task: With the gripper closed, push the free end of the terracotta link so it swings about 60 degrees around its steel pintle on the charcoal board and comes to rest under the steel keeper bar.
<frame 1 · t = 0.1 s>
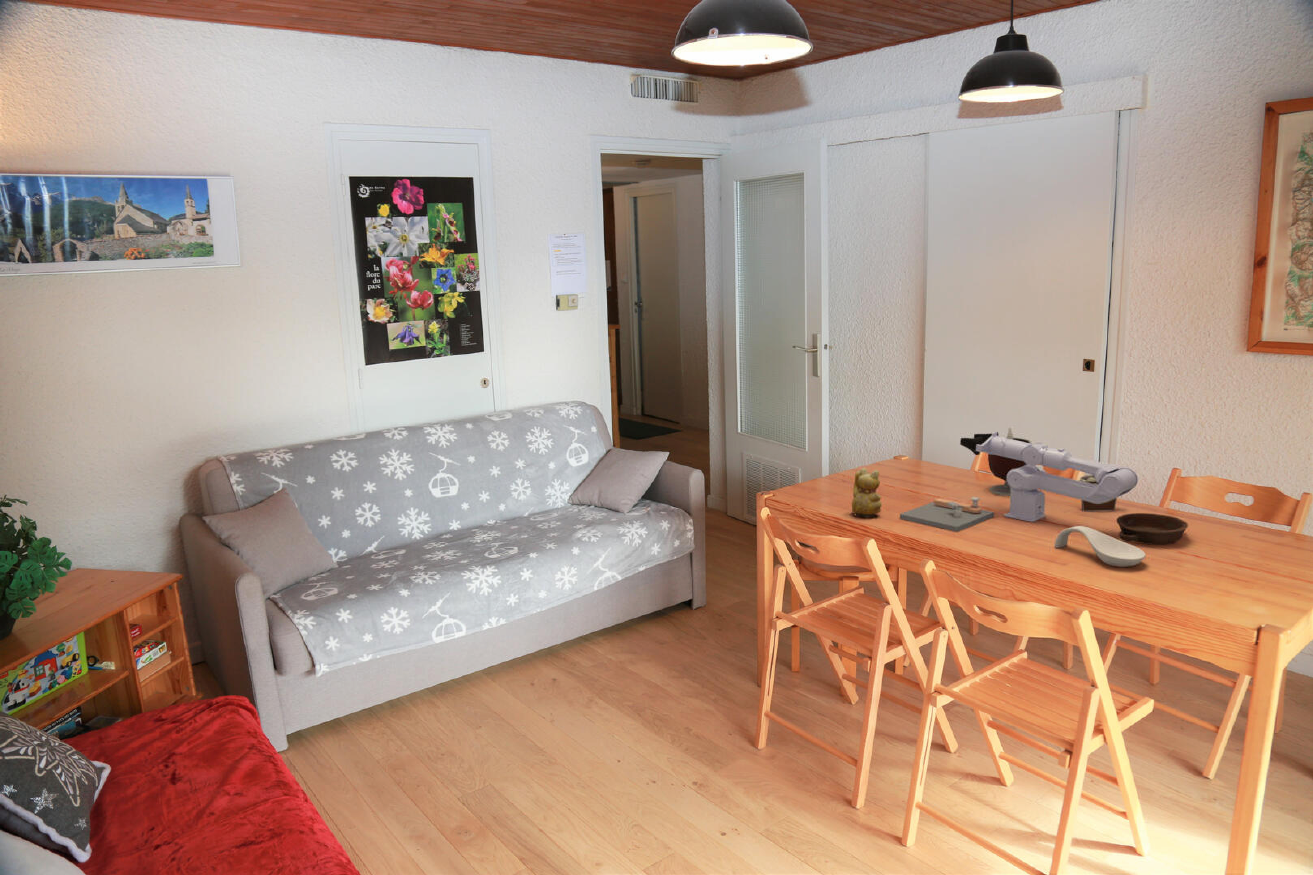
hand: (967, 439, 296), 22 cm above the table, tool horizontal, fingers open, 7 cm apart
decorative figurine: (865, 516, 294), on the table
dish: (1150, 539, 261), on the table
link: (958, 501, 291), point 4 cm above the table, hinge at 0.0°
mate gourd: (1008, 491, 315), on the table
board: (946, 517, 288), on the table
keeper: (974, 517, 287), resting on board
spoon rest: (1097, 558, 248), on the table
food container: (1095, 508, 291), on the table
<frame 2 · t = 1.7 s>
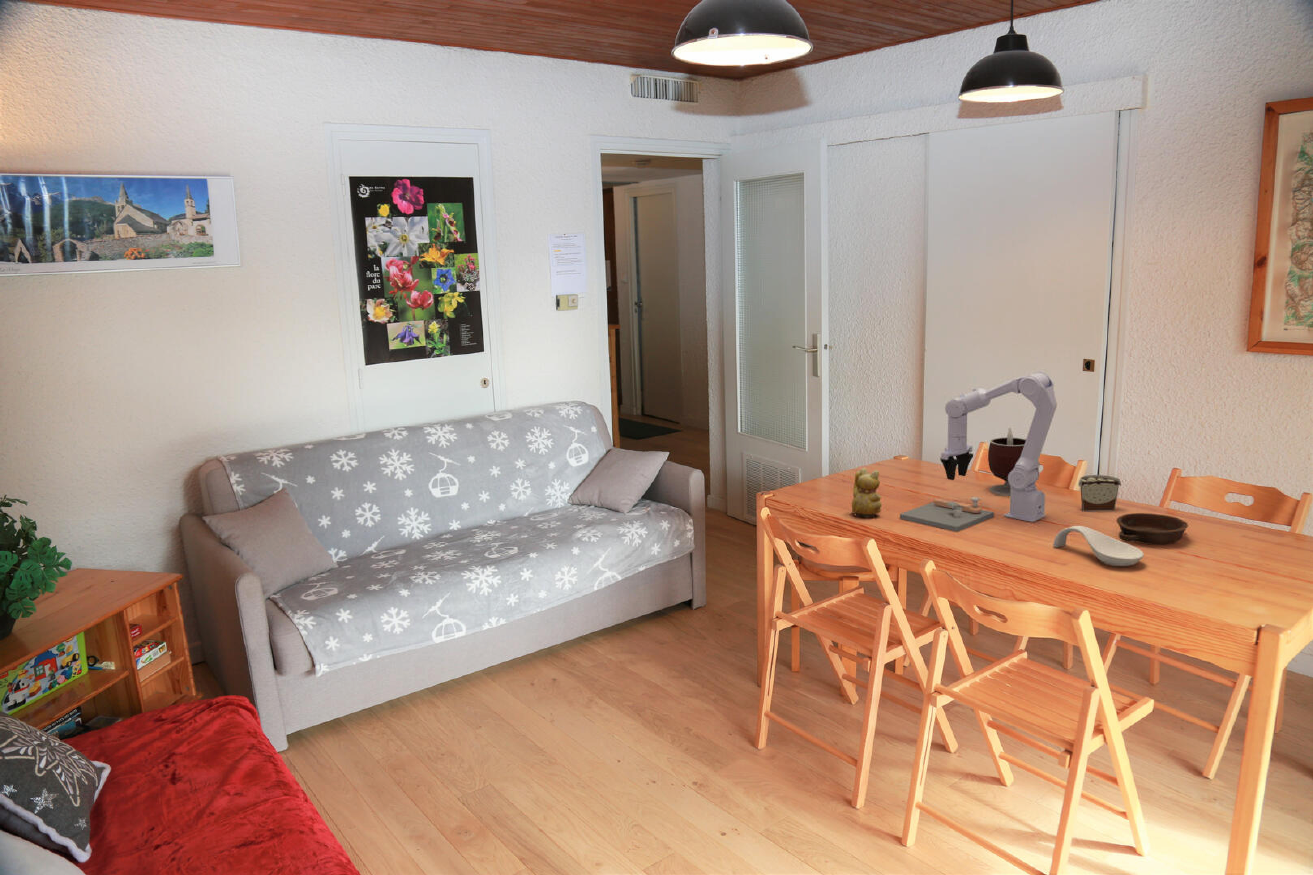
hand: (956, 477, 298), 9 cm above the table, tool pointing down, fingers open, 6 cm apart
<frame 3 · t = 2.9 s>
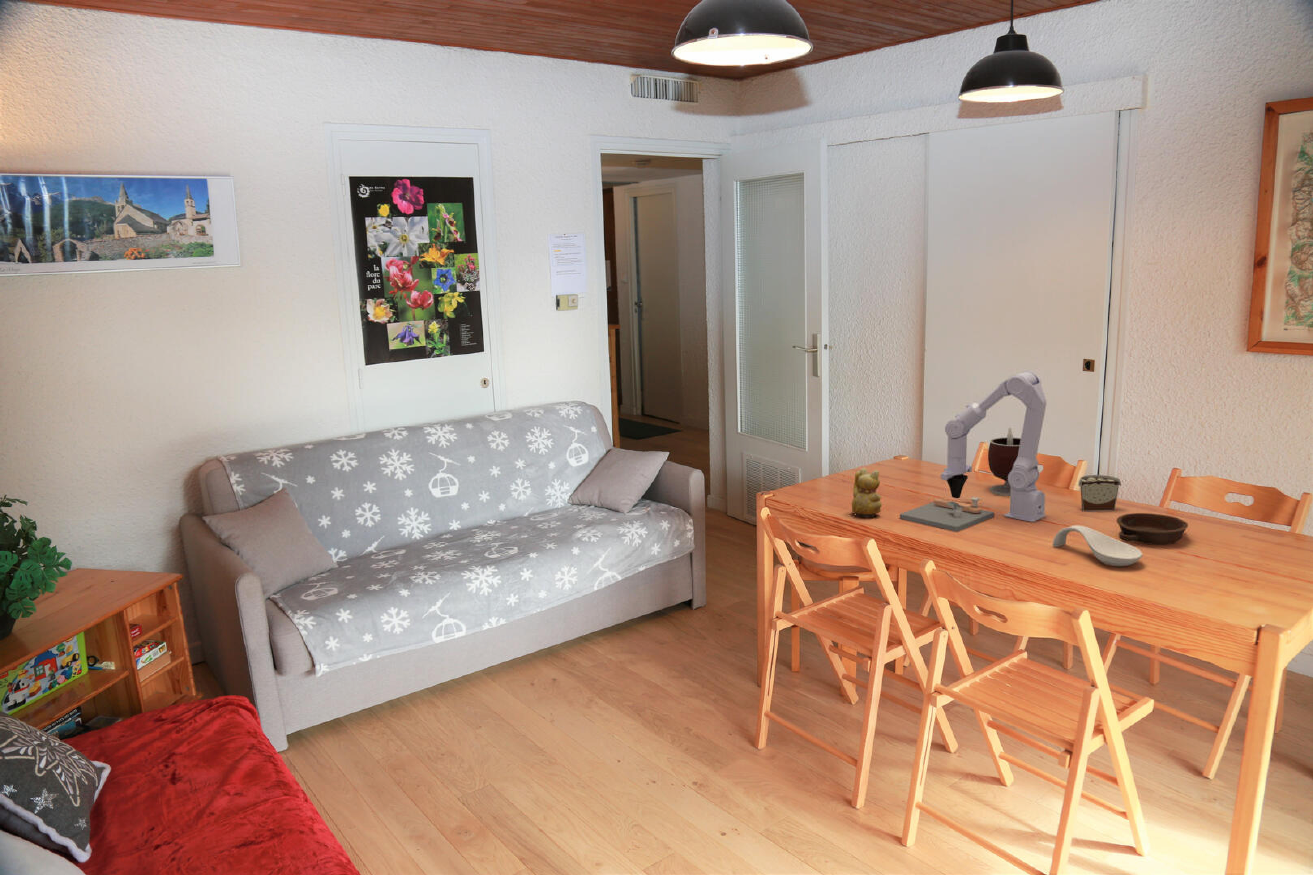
hand: (955, 497, 299), 3 cm above the table, tool pointing down, fingers closed
nothing on the table moved.
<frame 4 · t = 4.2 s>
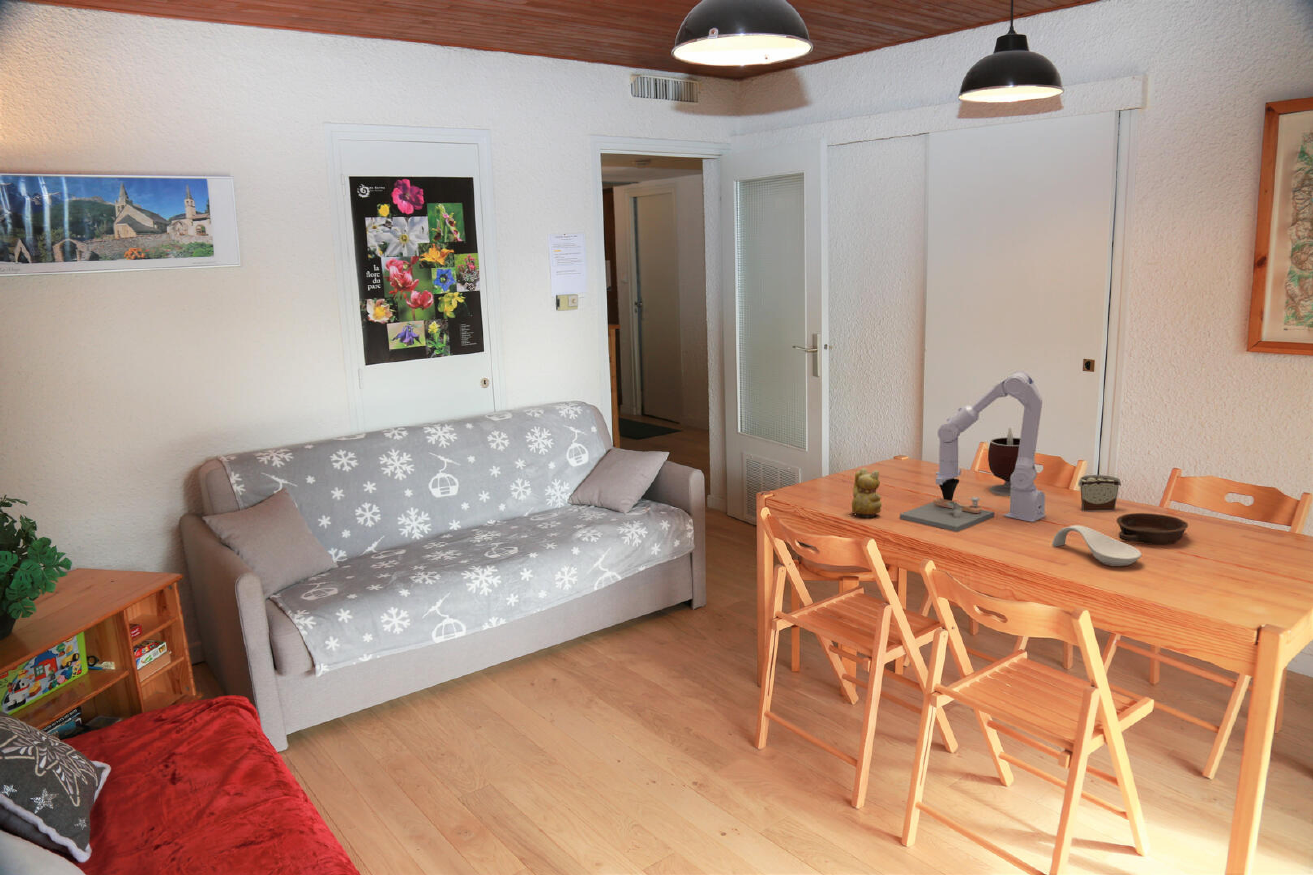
hand: (947, 501, 297), 2 cm above the table, tool pointing down, fingers closed, pressing on link
link: (958, 501, 291), point 4 cm above the table, hinge at 0.0°, touching gripper
everything else where it was.
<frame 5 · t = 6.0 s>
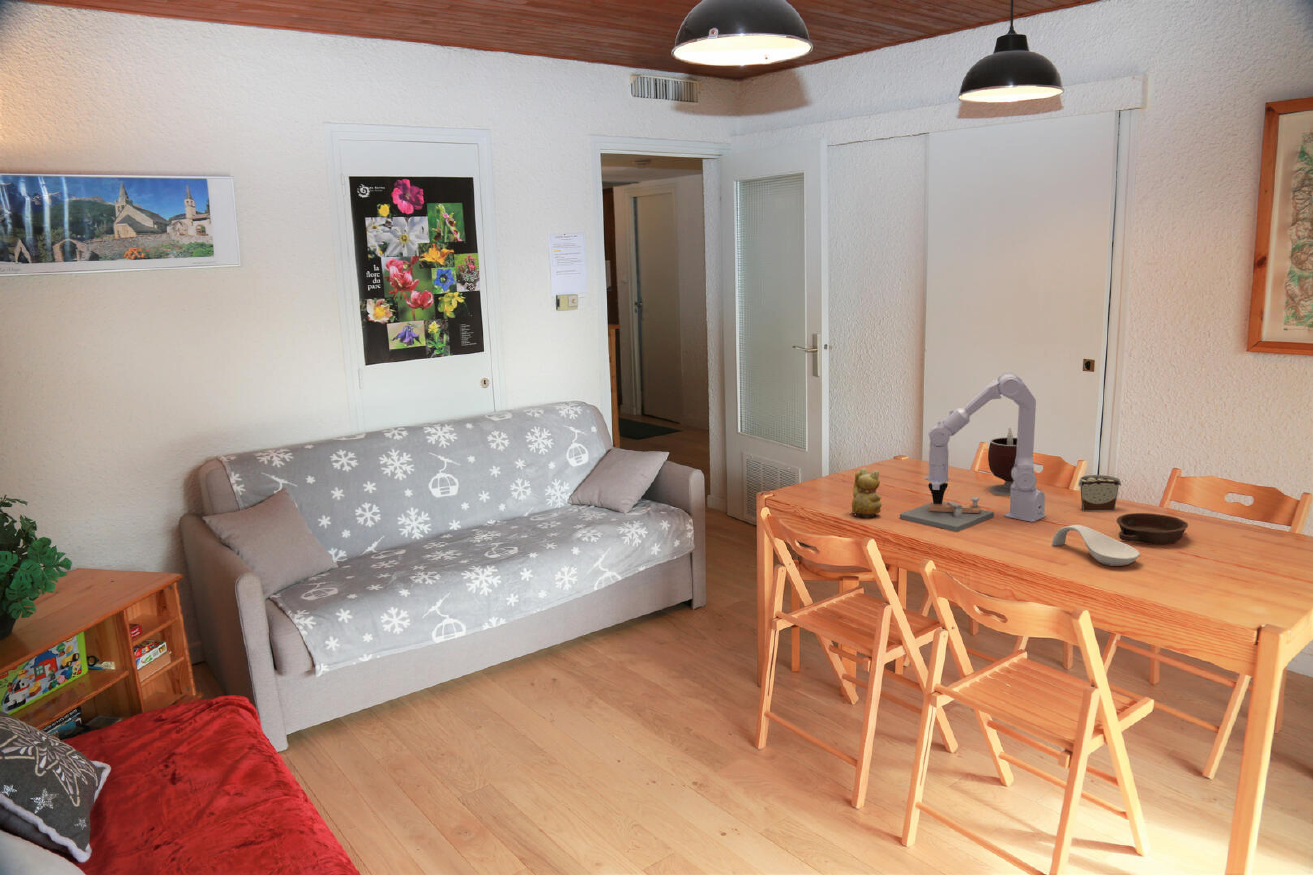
hand: (937, 506, 292), 2 cm above the table, tool pointing down, fingers closed, pressing on link
link: (955, 504, 288), point 4 cm above the table, hinge at 31.9°, touching gripper
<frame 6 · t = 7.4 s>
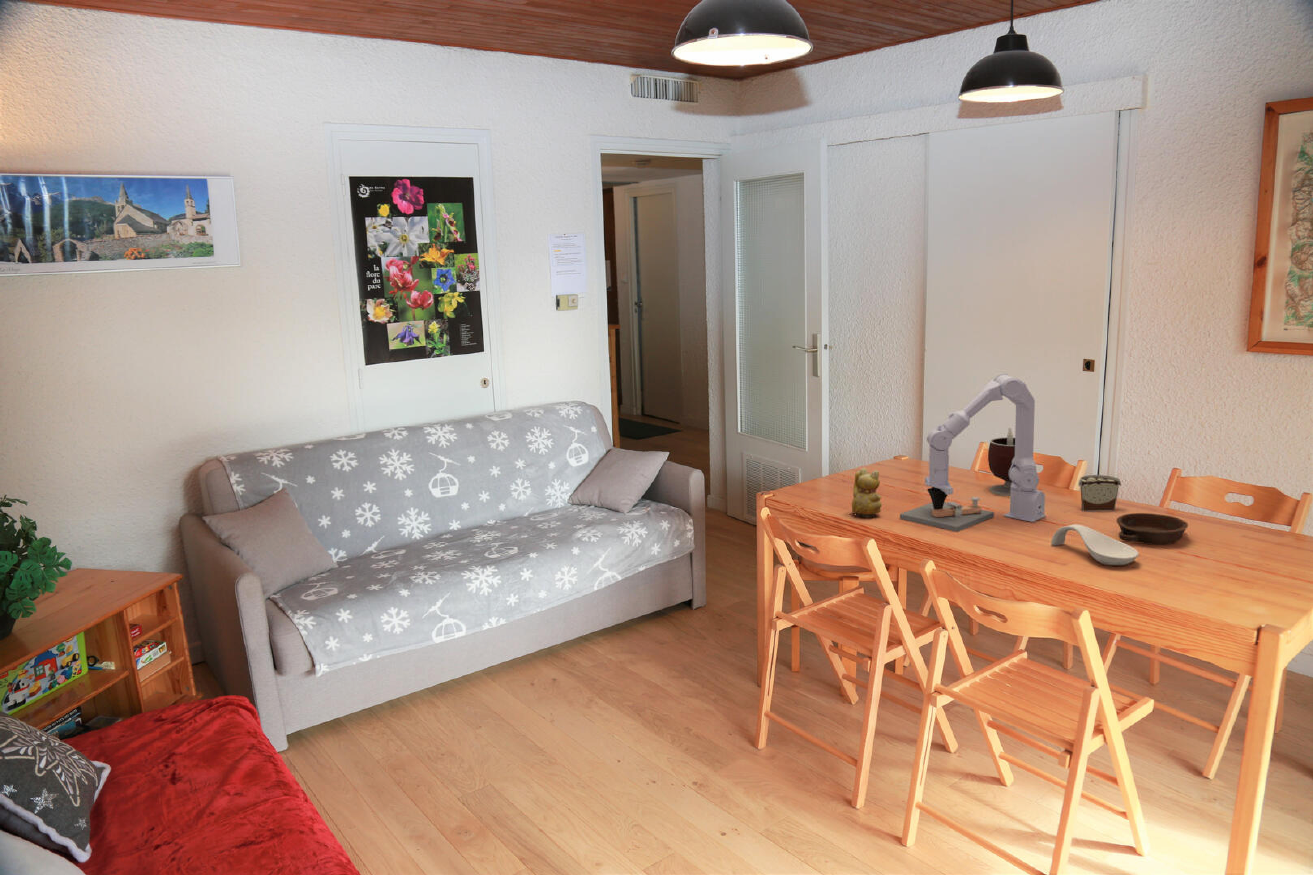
hand: (938, 511, 287), 2 cm above the table, tool pointing down, fingers closed
link: (957, 506, 286), point 4 cm above the table, hinge at 60.4°, touching gripper
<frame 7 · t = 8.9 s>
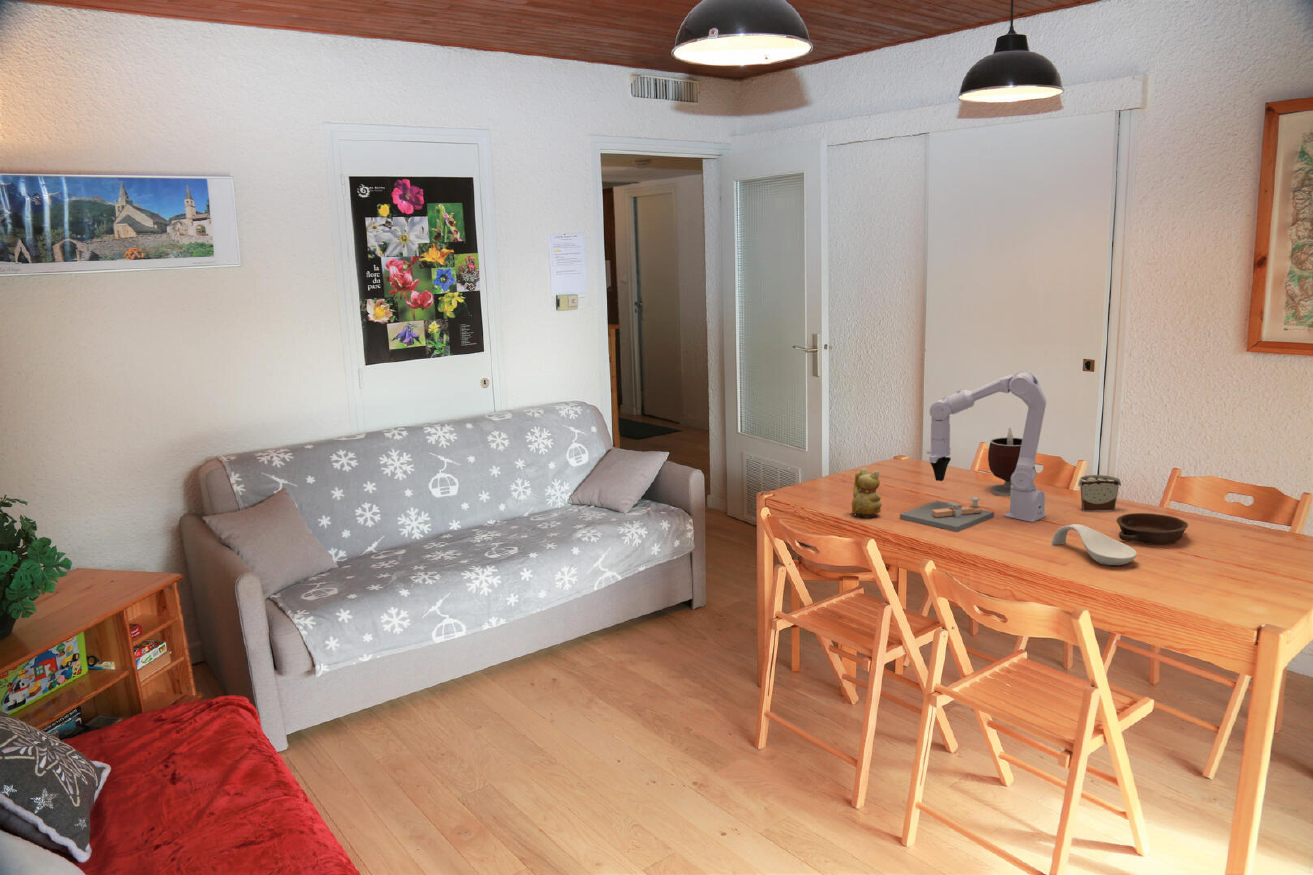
hand: (939, 480, 296), 9 cm above the table, tool pointing down, fingers closed
link: (957, 506, 285), point 4 cm above the table, hinge at 60.6°
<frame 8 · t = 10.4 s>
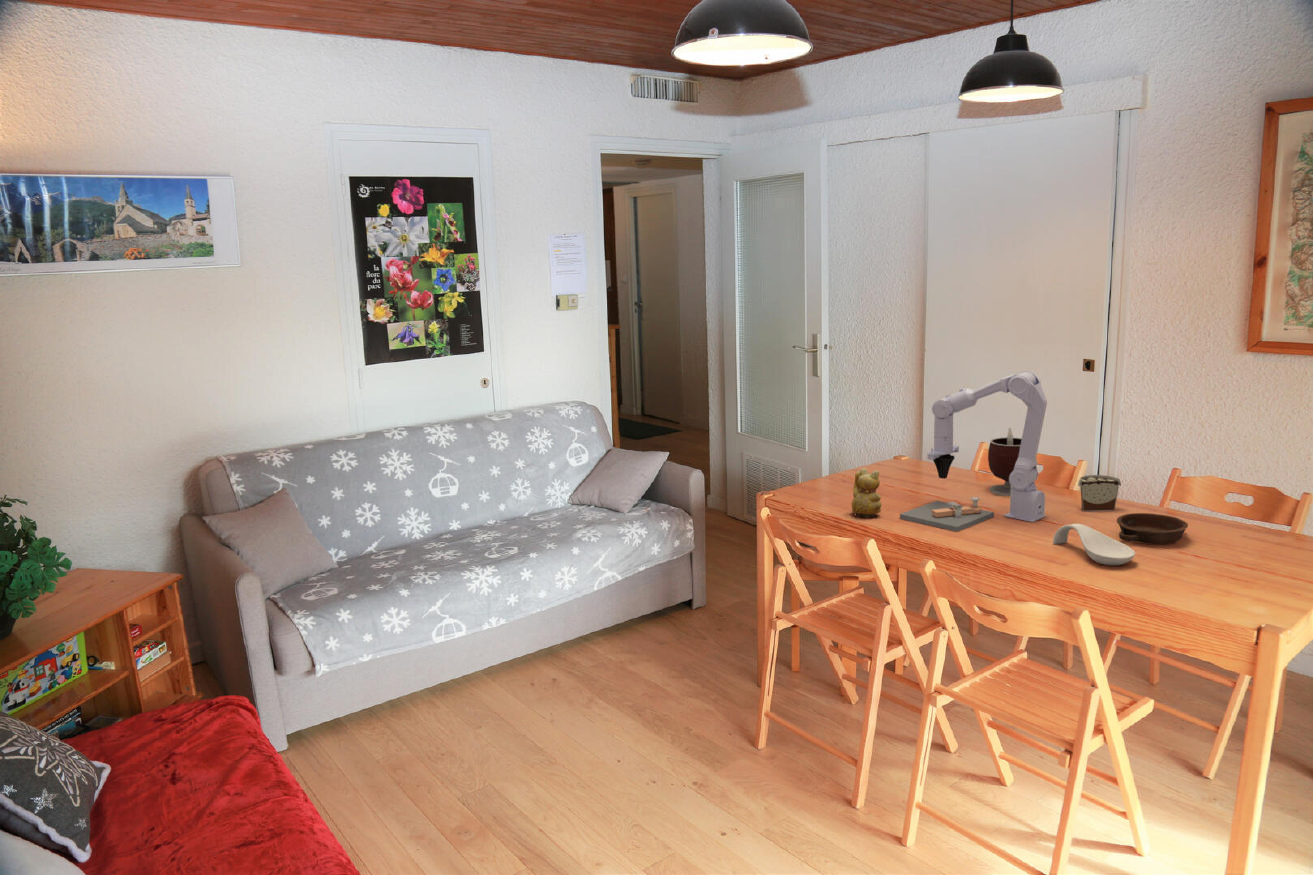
hand: (942, 477, 298), 9 cm above the table, tool pointing down, fingers closed
at the end: link at +61° (first picture: +0°); the gripper is holding nothing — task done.
